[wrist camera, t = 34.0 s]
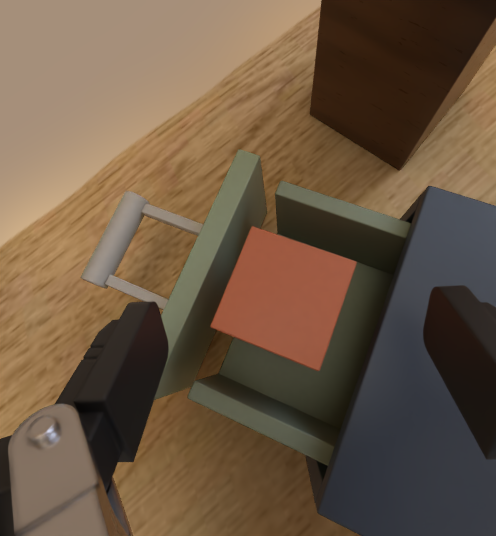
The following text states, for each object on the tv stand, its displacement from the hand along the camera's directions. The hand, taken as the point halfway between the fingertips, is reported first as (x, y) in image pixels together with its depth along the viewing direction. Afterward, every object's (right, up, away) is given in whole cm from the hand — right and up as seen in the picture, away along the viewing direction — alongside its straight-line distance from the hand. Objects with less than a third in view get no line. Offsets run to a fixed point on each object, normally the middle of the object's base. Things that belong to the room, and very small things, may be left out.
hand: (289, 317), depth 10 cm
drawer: (0, -1, +12) cm, 12 cm away
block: (+1, -1, +11) cm, 11 cm away
